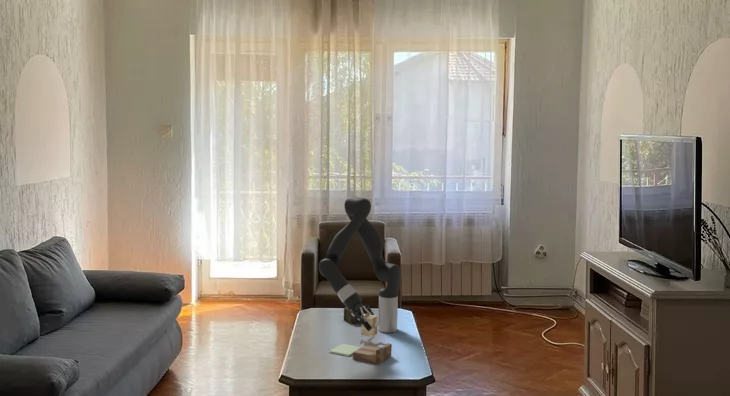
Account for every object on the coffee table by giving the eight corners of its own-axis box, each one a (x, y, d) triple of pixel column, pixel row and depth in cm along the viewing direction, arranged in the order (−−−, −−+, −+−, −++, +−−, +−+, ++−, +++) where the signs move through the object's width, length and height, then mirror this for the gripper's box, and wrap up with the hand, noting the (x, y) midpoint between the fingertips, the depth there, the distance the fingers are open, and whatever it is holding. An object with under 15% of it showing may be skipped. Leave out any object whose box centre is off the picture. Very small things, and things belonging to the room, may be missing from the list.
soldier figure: (383, 355, 321) (358, 345, 322) (381, 359, 325) (356, 349, 326) (389, 340, 325) (364, 330, 327) (387, 344, 329) (362, 334, 331)
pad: (342, 345, 330) (342, 343, 330) (362, 349, 325) (362, 347, 325) (329, 352, 319) (329, 350, 319) (349, 356, 314) (349, 354, 314)
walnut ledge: (365, 351, 322) (366, 339, 321) (391, 356, 316) (391, 344, 315) (352, 358, 311) (353, 346, 311) (378, 364, 305) (379, 351, 305)
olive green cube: (343, 321, 372) (344, 307, 371) (356, 319, 375) (356, 306, 374) (350, 325, 365) (350, 311, 365) (362, 323, 369) (363, 309, 368)
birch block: (366, 332, 317) (367, 314, 316) (376, 333, 315) (377, 315, 314) (361, 335, 313) (361, 316, 312) (371, 336, 310) (372, 318, 309)
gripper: (346, 295, 309) (371, 327, 305) (362, 288, 321) (386, 319, 317) (335, 305, 312) (359, 337, 308) (351, 298, 324) (375, 328, 320)
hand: (373, 327), depth 312 cm, fingers closed on birch block, 5 cm apart
